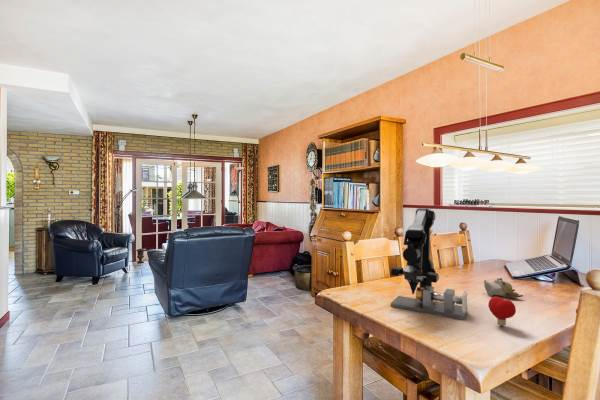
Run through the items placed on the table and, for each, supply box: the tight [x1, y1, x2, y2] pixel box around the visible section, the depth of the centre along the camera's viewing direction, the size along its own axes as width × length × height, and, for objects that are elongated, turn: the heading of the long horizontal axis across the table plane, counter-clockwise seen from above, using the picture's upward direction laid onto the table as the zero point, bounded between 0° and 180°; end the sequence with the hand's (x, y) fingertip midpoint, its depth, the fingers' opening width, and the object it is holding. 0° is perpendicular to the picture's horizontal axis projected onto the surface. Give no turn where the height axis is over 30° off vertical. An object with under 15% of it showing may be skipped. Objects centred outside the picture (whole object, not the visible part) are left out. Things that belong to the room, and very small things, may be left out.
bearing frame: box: [390, 286, 468, 321], centre depth 136 cm, size 12×28×8 cm, turn 58°
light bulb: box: [487, 296, 517, 327], centre depth 118 cm, size 9×7×10 cm
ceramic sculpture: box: [483, 278, 524, 299], centre depth 153 cm, size 11×9×15 cm
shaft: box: [415, 286, 462, 306], centre depth 133 cm, size 6×17×6 cm, turn 58°
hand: (413, 294), depth 139 cm, fingers closed
